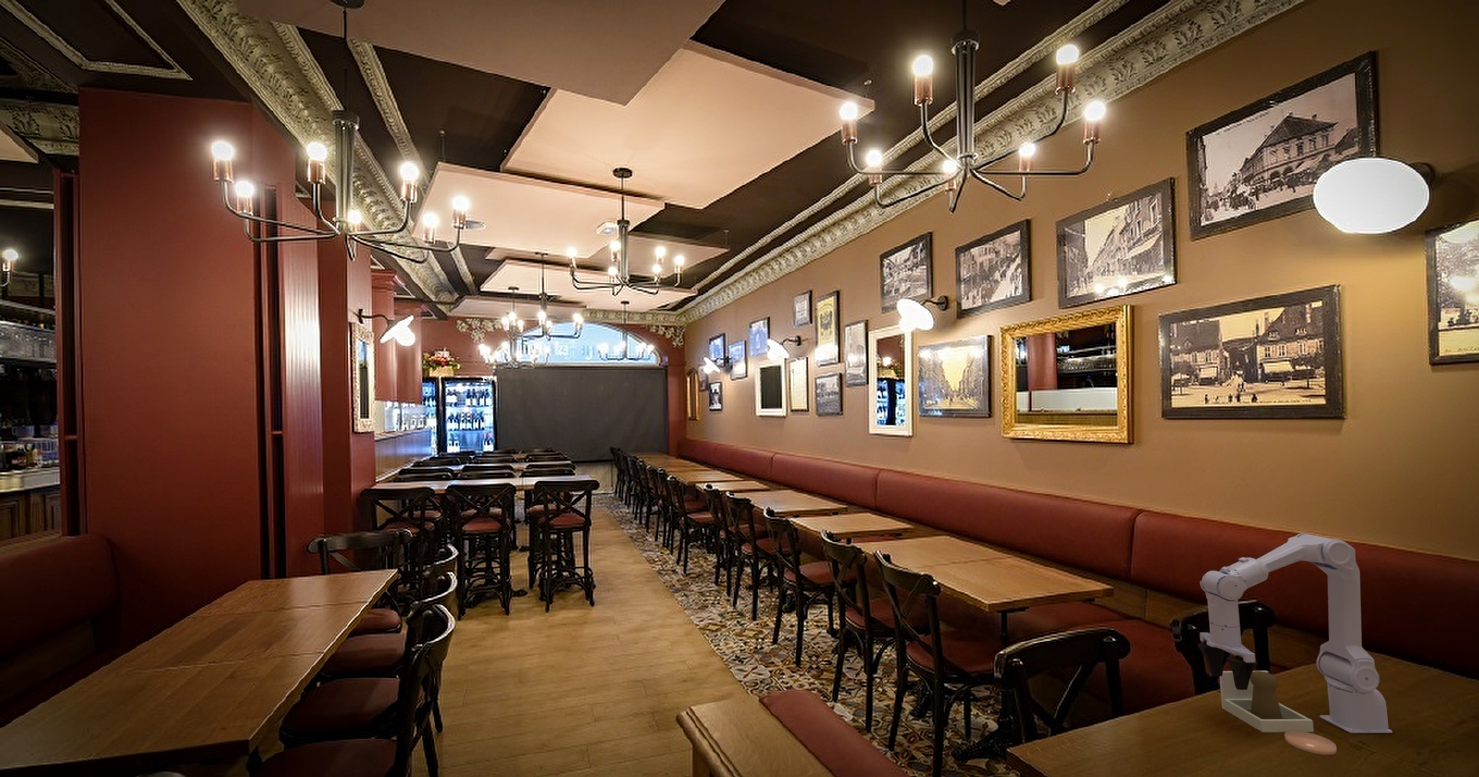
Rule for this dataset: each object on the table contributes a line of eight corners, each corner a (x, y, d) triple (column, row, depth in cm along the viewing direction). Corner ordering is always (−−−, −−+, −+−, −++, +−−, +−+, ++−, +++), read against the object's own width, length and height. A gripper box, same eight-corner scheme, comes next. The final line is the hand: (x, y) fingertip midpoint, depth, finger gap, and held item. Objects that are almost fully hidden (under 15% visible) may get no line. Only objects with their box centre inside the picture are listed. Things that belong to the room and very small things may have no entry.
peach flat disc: (1312, 734, 138) (1312, 730, 138) (1348, 754, 130) (1347, 749, 130) (1274, 735, 139) (1274, 730, 139) (1307, 754, 130) (1307, 749, 130)
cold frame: (1269, 707, 152) (1266, 670, 153) (1313, 731, 140) (1310, 691, 140) (1222, 707, 152) (1219, 671, 153) (1262, 731, 140) (1258, 691, 141)
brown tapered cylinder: (1290, 726, 142) (1286, 678, 143) (1260, 725, 143) (1256, 677, 144) (1273, 715, 148) (1269, 668, 149) (1244, 713, 149) (1241, 667, 150)
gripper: (1185, 614, 152) (1190, 670, 151) (1230, 634, 138) (1235, 695, 137) (1214, 614, 152) (1218, 669, 151) (1262, 633, 138) (1267, 695, 137)
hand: (1229, 682), depth 144 cm, fingers open, 7 cm apart
